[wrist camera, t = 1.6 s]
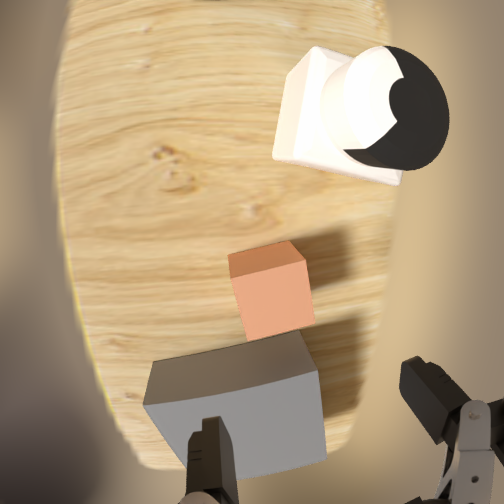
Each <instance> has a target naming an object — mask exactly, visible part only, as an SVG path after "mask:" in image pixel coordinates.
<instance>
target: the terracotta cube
mask: <svg viewBox="0 0 504 504" xmlns="http://www.w3.org/2000/svg"><path fill="white" fill-rule="evenodd" d="M228 262H229V269H230V277H231V282H232V285H233V289H234V293H235V297H236V300H237V304H238V308H239V311H240V315H241V319H242V322H243V326H244V329H245V333H246V337H247V340H248V341H251V340H255V339H259V338H263V337H267V336H271V335H275V334H279V333H282V332H286V331H290V330H294V329H297V328H301V327H305V326H308V325H312V324H315V318H314V311H313V304H312V297H311V290H310V284H309V277H308V271H307V265H306V260H305V259H304V257H303V256H302V255H301V254H300V253H299V252H298V250H297V249H296V248H295V247H294V246H293V245H292V244H291V242H290V241H289V240H288V241H284V242H280V243H276V244H272V245H267V246H263V247H259V248H255V249H251V250H247V251H243V252H239V253H234V254H230V255H228Z"/></svg>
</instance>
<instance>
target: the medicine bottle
mask: <svg viewBox="0 0 504 504" xmlns="http://www.w3.org/2000/svg"><path fill="white" fill-rule="evenodd" d="M448 130H449V109H448V103H447V99H446V96H445V93H444V91H443V88H442V86H441V84H440V83H439V81H438V79H437V78H436V76H435V75H434V73H433V72H432V71H431V70H430V69H429V68H428V67H427V65H425V64H424V63H423V62H422V61H421V60H419V59H418V58H417V57H415V56H414V55H412V54H411V53H409V52H407V51H405V50H402V49H400V48H396V47H391V46H378V47H373V48H370V49H368V50H366V51H364V52H362V53H361V54H359V55H358V56H356V57H355V58H354V57H351V56H348V55H345V54H342V53H339V52H336V51H333V50H330V49H327V48H324V47H321V46H314V47H312V49H311V50H310V51H309V52H308V53H307V54H306V55H305V56H304V57H303V58H302V59H301V60H300V61H299V62H298V64H297V65H296V66H295V67H294V68H293V69H292V70H291V71H290V72H289V73H288V75H287V77H286V82H285V88H284V93H283V99H282V104H281V109H280V115H279V120H278V126H277V131H276V136H275V142H274V147H273V153H272V158H273V159H274V160H276V161H281V162H286V163H291V164H296V165H300V166H305V167H310V168H314V169H318V170H323V171H327V172H331V173H335V174H339V175H343V176H347V177H351V178H356V179H362V180H367V181H372V182H377V183H382V184H387V185H392V186H398V185H400V183H401V180H402V175H403V170H405V171H409V170H416V169H420V168H422V167H424V166H426V165H428V164H429V163H431V162H432V161H433V160H434V159H435V158H436V157H437V156H438V154H439V153H440V151H441V150H442V148H443V145H444V143H445V141H446V137H447V135H448Z"/></svg>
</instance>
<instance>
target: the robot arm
mask: <svg viewBox="0 0 504 504" xmlns="http://www.w3.org/2000/svg"><path fill="white" fill-rule="evenodd" d="M399 389H400V393H401V395H402V397H403V399H404V400H405V401H406V403H407V404H408V406H409V407H410V408H411V410H412V411H413V412H414V414H415V415H416V417H417V418H418V419H419V421H420V422H421V424H422V425H423V426H424V428H425V429H426V431H427V432H428V433H429V435H430V436H431V438H432V439H433V441H434V442H435V444H436V445H438V444H439V443H441V442H443V441H445V442H446V444H447V446H446V451H445V457H444V463H443V468H442V473H441V479H440V482H439V486H438V488H437V491H436V493H435V496H434V499H428V500H423V501H422V500H421V498H420V496H419V497H417V498H415V499H413V500H411V501H409V502H407V503H405V504H490V499H491V492H492V483H493V473H494V459H495V454H496V456H497V457H498V459H499V460H500V462H501V463H502V465H503V466H504V398H503V399H500V400H497V401H494V402H491V403H487V404H486V403H485V402H483V401H481V400H471V399H470V398H469V397H468V396H467V394H466V393H465V392H464V391H463V390H462V389H461V388H460V387H459V386H458V385H457V384H456V383H455V382H454V381H453V380H451V377H450V376H449V375H447V374H446V372H445V371H444V370H443V369H442V368H441V367H440V366H438V365H436V364H434V363H432V362H429V363H425V362H424V361H423V360H422V359H421V358H420V357H419V356H415V357H413V358H411V359H408V360H406V361H404V362H402V365H401V374H400V383H399ZM490 447H491V448H492V450H491V449H490ZM187 461H188V462H187V479H186V480H187V481H186V494H185V496H184V497H183V498H182V499H181V501H180V502H179V503H178V504H239V500H238V490H237V481H236V471H235V462H234V451H233V444H232V440H231V437H230V435H229V433H228V431H227V428H226V426H225V424H224V422H223V420H222V418H221V416H215V417H209V418H203V419H202V431H196V432H193V433H192V435H191V437H190V439H189V441H188V454H187Z"/></svg>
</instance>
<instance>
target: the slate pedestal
mask: <svg viewBox="0 0 504 504" xmlns="http://www.w3.org/2000/svg"><path fill="white" fill-rule="evenodd" d="M143 407H144V409H145V410H146V412H147V413H148V415H149V417H150V418H151V420H152V421H153V423H154V424H155V426H156V427H157V429H158V430H159V432H160V433H161V435H162V436H163V437H164V439H165V440H166V442H167V443H168V445H169V446H170V447H171V449H172V450H173V452H174V453H175V454H176V456H177V457H178V458H179V460H180V461H181V462H182V464H183V465H184V466H185V467H186V469H187V462H188V461H187V454H188V441H189V439H190V437H191V435H192V433H193V432H196V431H202V419H203V418H209V417H215V416H221V418H222V420H223V422H224V424H225V426H226V428H227V431H228V433H229V435H230V437H231V440H232V444H233V451H234V462H235V471H236V480H241V479H247V478H252V477H258V476H263V475H268V474H273V473H277V472H281V471H286V470H290V469H294V468H298V467H302V466H306V465H309V464H313V463H316V462H319V461H323V460H326V459H327V452H326V441H325V430H324V420H323V410H322V401H321V392H320V384H319V375H318V369H317V367H316V365H315V363H314V361H313V359H312V357H311V354H310V352H309V350H308V348H307V346H306V344H305V342H304V340H303V338H302V335H301V333H300V331H299V330H296V331H292V332H289V333H285V334H281V335H277V336H273V337H270V338H266V339H262V340H257V341H253V342H249V343H245V344H241V345H236V346H232V347H227V348H223V349H218V350H214V351H209V352H204V353H199V354H194V355H189V356H184V357H178V358H173V359H167V360H162V361H156V362H153V364H152V368H151V372H150V376H149V380H148V385H147V389H146V393H145V397H144V402H143Z"/></svg>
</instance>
